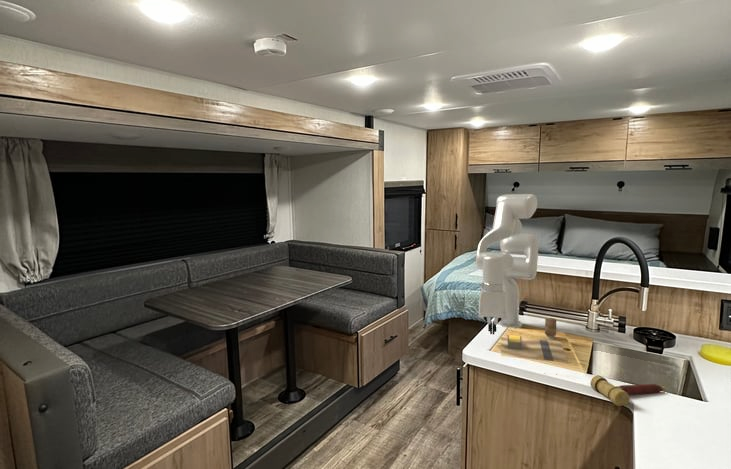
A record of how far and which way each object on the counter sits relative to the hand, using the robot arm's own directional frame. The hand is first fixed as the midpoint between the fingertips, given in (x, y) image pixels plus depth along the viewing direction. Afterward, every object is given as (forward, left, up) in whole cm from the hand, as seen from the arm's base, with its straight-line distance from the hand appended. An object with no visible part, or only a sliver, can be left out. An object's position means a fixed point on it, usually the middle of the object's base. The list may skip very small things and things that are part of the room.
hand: (492, 333), depth 150 cm
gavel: (+24, +41, -7) cm, 47 cm away
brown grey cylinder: (-13, +22, -6) cm, 26 cm away
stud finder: (-1, +8, -5) cm, 9 cm away
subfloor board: (0, +14, -6) cm, 15 cm away
